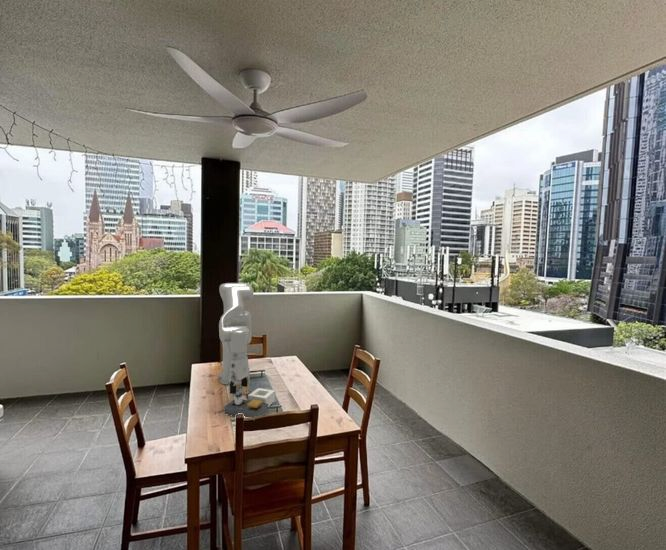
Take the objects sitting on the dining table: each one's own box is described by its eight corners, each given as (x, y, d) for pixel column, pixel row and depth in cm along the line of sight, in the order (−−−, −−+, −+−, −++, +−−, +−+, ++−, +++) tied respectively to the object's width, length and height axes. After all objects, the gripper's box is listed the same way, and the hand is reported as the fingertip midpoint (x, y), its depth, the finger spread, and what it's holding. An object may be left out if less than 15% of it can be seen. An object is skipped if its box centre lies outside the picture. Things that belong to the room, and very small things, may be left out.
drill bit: (233, 412, 164) (233, 388, 163) (237, 409, 167) (237, 385, 167) (239, 413, 163) (239, 389, 162) (243, 410, 166) (243, 386, 166)
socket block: (224, 414, 162) (224, 406, 161) (236, 405, 171) (236, 398, 171) (257, 421, 156) (257, 412, 156) (268, 411, 166) (268, 403, 166)
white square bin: (247, 406, 170) (247, 395, 170) (258, 398, 180) (258, 387, 180) (265, 410, 167) (265, 398, 167) (274, 401, 177) (275, 390, 177)
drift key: (247, 413, 161) (247, 403, 160) (253, 409, 165) (253, 399, 165) (256, 415, 159) (256, 405, 159) (262, 410, 164) (262, 400, 164)
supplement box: (234, 397, 182) (234, 373, 181) (232, 393, 186) (232, 370, 185) (249, 394, 186) (249, 370, 185) (247, 390, 190) (247, 368, 189)
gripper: (235, 360, 154) (235, 397, 155) (255, 351, 170) (254, 384, 171) (221, 359, 156) (221, 395, 157) (242, 349, 173) (242, 382, 173)
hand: (238, 389), depth 164 cm, fingers open, 9 cm apart
